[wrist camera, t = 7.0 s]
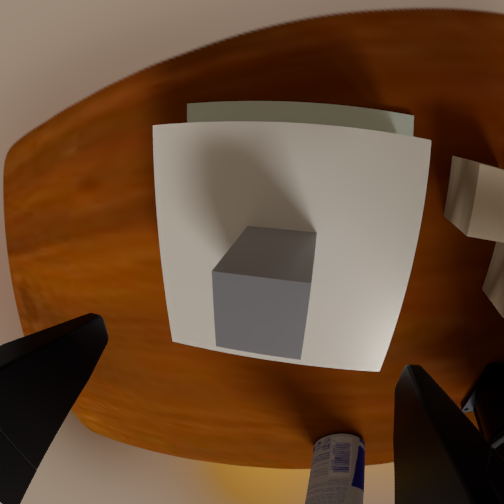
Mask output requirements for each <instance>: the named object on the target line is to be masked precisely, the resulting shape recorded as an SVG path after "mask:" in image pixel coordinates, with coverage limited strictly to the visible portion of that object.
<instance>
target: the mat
mask: <svg viewBox="0 0 504 504" xmlns="http://www.w3.org/2000/svg"><path fill="white" fill-rule="evenodd" d="M223 121H259V122H289V123H307V124H320V125H332V126H342V127H351V128H360V129H368V130H375V131H382V132H389V133H395V134H401V135H407V136H413V129H414V116H413V115H408V114H402V113H396V112H390V111H384V110H377V109H370V108H362V107H354V106H345V105H335V104H323V103H309V102H288V101H224V102H204V103H189V104H187V123H193V122H223Z"/></svg>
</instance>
